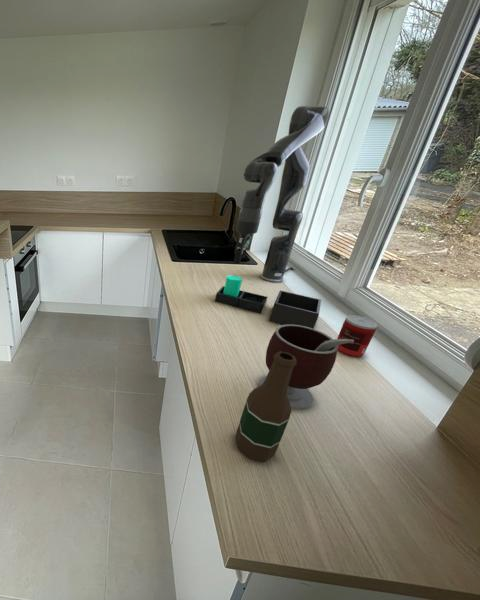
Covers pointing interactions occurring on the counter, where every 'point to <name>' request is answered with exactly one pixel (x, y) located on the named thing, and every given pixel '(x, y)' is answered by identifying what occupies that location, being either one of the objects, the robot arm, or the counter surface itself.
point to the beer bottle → (266, 411)
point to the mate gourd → (304, 359)
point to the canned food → (356, 335)
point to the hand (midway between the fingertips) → (238, 260)
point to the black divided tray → (243, 300)
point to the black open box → (295, 310)
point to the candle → (232, 285)
